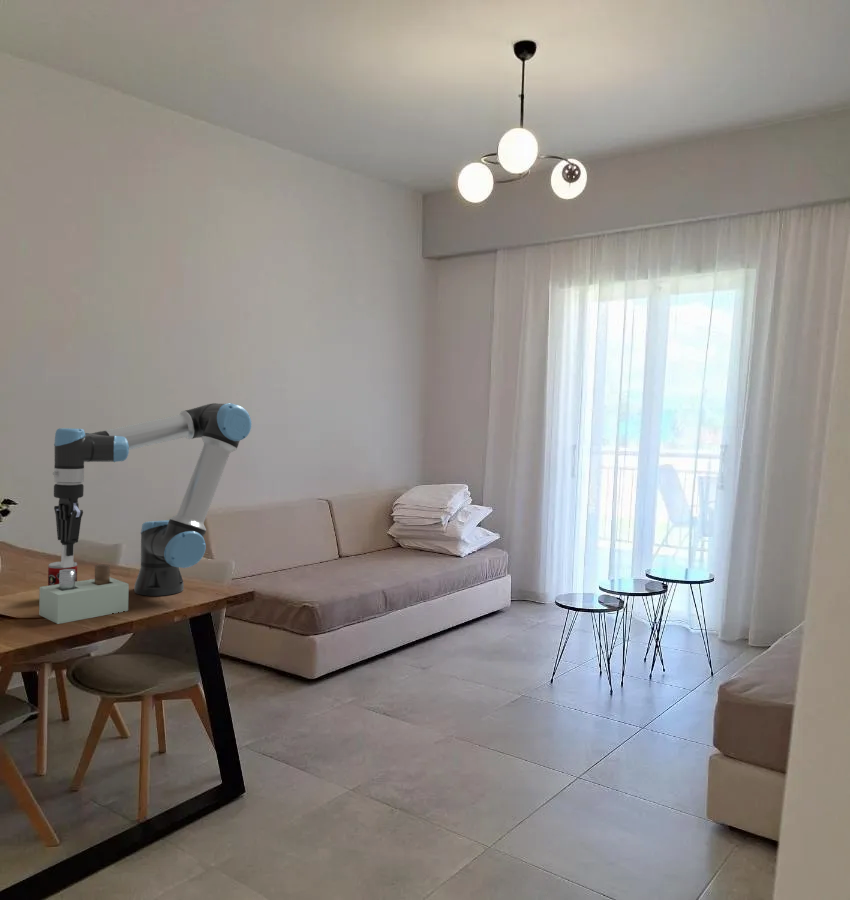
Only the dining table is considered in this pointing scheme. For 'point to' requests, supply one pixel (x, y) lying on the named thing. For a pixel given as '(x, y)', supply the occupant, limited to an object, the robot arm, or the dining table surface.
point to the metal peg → (67, 579)
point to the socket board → (83, 600)
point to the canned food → (55, 570)
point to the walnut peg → (102, 574)
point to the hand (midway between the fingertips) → (67, 566)
